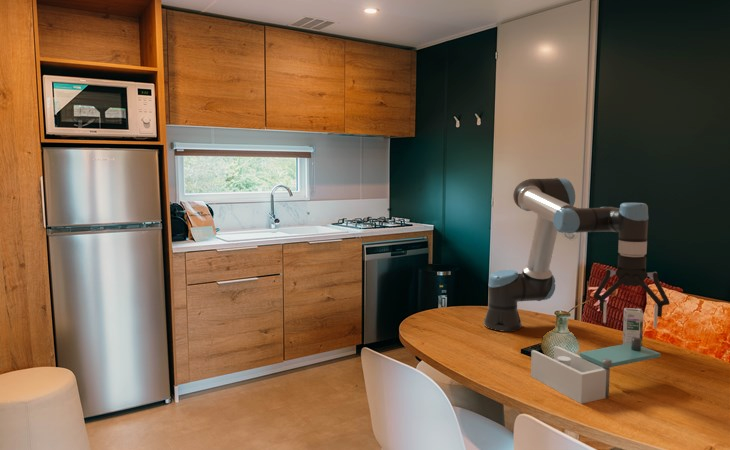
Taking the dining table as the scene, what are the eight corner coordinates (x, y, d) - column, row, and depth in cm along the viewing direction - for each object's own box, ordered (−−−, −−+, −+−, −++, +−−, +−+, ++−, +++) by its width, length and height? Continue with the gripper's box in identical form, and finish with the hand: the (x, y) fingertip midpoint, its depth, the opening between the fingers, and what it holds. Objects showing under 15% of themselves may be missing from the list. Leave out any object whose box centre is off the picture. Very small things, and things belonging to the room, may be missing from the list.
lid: (662, 357, 157) (663, 342, 157) (606, 369, 149) (607, 353, 148) (631, 346, 167) (631, 332, 167) (577, 356, 159) (578, 341, 158)
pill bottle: (574, 384, 161) (575, 357, 160) (568, 389, 157) (569, 362, 156) (559, 380, 164) (559, 354, 163) (553, 384, 160) (553, 358, 159)
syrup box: (624, 349, 190) (626, 311, 188) (622, 344, 195) (623, 306, 193) (642, 351, 188) (643, 312, 186) (639, 346, 193) (641, 308, 192)
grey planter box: (557, 371, 171) (557, 345, 170) (610, 397, 151) (611, 369, 150) (530, 376, 167) (531, 350, 166) (581, 404, 147) (582, 375, 146)
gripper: (679, 255, 152) (676, 325, 154) (587, 250, 163) (585, 316, 166) (682, 259, 146) (678, 333, 148) (585, 254, 157) (583, 322, 159)
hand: (629, 324), depth 157 cm, fingers open, 13 cm apart
